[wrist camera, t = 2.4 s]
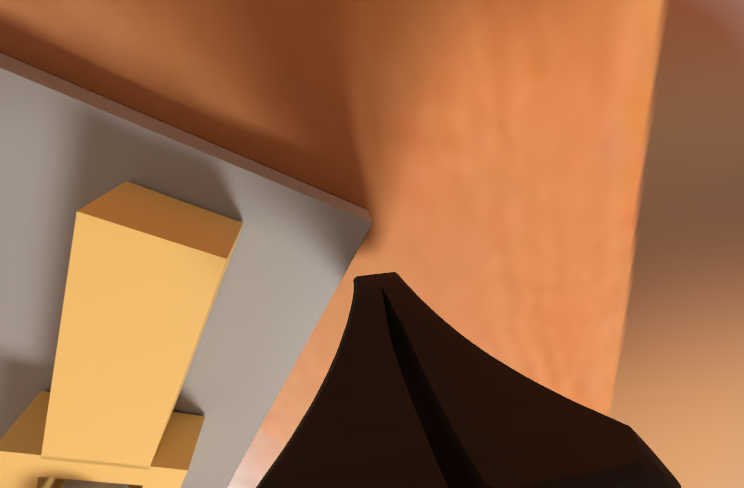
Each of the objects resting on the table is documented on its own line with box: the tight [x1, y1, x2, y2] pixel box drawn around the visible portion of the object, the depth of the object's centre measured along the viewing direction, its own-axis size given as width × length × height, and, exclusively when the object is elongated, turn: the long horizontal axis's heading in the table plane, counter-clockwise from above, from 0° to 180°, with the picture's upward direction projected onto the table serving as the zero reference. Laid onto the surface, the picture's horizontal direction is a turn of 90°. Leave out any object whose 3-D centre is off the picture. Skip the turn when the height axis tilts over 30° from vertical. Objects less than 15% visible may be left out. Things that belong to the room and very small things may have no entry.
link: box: [0, 181, 243, 488], centre depth 11 cm, size 14×5×2 cm, turn 152°
